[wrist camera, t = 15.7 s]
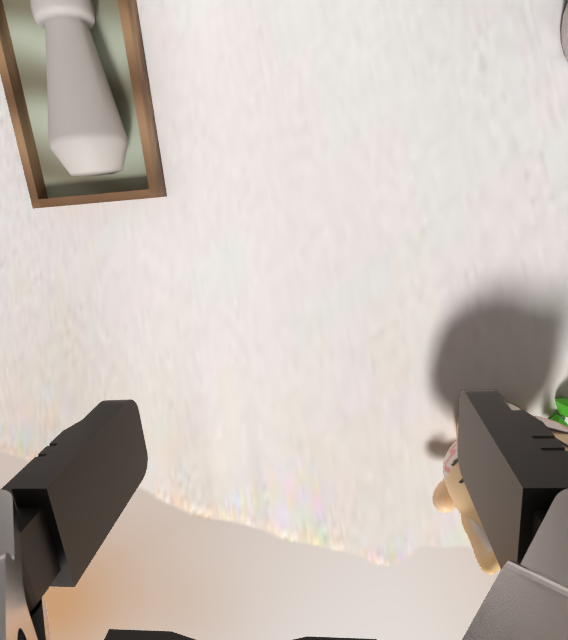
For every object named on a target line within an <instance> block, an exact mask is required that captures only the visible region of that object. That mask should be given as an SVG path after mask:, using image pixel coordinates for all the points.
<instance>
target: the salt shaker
mask: <svg viewBox="0 0 568 640" xmlns="http://www.w3.org/2000/svg"><path fill="white" fill-rule="evenodd" d="M30 6H31V11H32V14H33V18H34V19H35V21H36V23H37V24H38V25H39V26H40V27H41V28H44V29H45V41H46V67H47V93H48V143H49V145H50V148H51V150H52V151H53V153H54V154H55V155H56V157H57V158H58V159H59V160H60V162H61V163H62V164H63V166H64V167H65V168H66V169H67V171H68V172H69V174H70V175H71V176H99V175H107V174H114V173H117V172H119V171H122V170H123V168H124V162H125V157H126V152H127V146H128V138H127V135H126V132H125V129H124V126H123V123H122V120H121V118H120V115H119V112H118V109H117V106H116V103H115V101H114V98H113V95H112V92H111V89H110V86H109V83H108V81H107V78H106V75H105V72H104V69H103V66H102V63H101V61H100V58H99V55H98V52H97V49H96V46H95V43H94V41H93V38H92V35H91V32H90V29H91V28H93V25H94V23H95V13H94V8H93V5H92V2H91V0H30Z"/></svg>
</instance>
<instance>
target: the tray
mask: <svg viewBox="0 0 568 640" xmlns="http://www.w3.org/2000/svg"><path fill="white" fill-rule="evenodd" d="M91 2H92V5H93V8H94V13H95V23H94V25H93V28H91V29H90V32H91V35H92V38H93V41H94V43H95V46H96V49H97V52H98V55H99V58H100V61H101V63H102V66H103V69H104V72H105V75H106V78H107V81H108V83H109V86H110V89H111V92H112V95H113V98H114V101H115V103H116V106H117V109H118V112H119V115H120V118H121V120H122V123H123V126H124V129H125V132H126V135H127V138H128V146H127V152H126V157H125V162H124V168H123V170H122V171H119V172H117V173H114V174H107V175H99V176H71V175H70V174H69V172H68V171H67V169H66V168H65V167H64V166H63V164H62V163H61V162H60V160H59V159H58V158H57V157H56V155H55V154H54V153H53V151H52V150H51V148H50V145H49V143H48V93H47V67H46V41H45V29H44V28H41V27H40V26H39V25H38V24H37V23H36V21H35V19H34V18H33V14H32V11H31V6H30V0H0V74H1V78H2V83H3V87H4V91H5V95H6V99H7V103H8V107H9V112H10V116H11V120H12V124H13V128H14V132H15V136H16V140H17V145H18V149H19V153H20V157H21V161H22V165H23V169H24V174H25V178H26V182H27V186H28V190H29V194H30V198H31V202H32V207H33V208H43V207H54V206H65V205H77V204H88V203H99V202H110V201H121V200H133V199H144V198H155V197H164V196H167V195H166V188H165V182H164V175H163V169H162V163H161V156H160V150H159V143H158V137H157V131H156V124H155V118H154V112H153V105H152V99H151V92H150V86H149V80H148V73H147V67H146V60H145V54H144V48H143V41H142V35H141V28H140V22H139V16H138V9H137V3H136V0H91Z"/></svg>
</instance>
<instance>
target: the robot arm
mask: <svg viewBox="0 0 568 640" xmlns="http://www.w3.org/2000/svg"><path fill="white" fill-rule="evenodd" d="M561 36H562V46H563V50H564V54H565V57H566V59H567V61H568V2H567V5H566V8H565V11H564V14H563V20H562V27H561ZM457 452H458V463H459V468H460V473H461V476H462V478H463V481H464V483H465V486H466V488H467V490H468V493H469V495H470V497H471V500H472V502H473V504H474V507H475V509H476V511H477V514H478V516H479V519H480V521H481V523H482V526H483V528H484V530H485V533H486V535H487V537H488V540H489V542H490V545H491V547H492V549H493V552H494V554H495V556H496V559H497V561H498V563H499V566H500V568H501V571H500V573H499V575H498V576H497V578H496V580H495V582H494V584H493V585H492V587H491V589H490V591H489V592H488V594H487V596H486V598H485V600H484V601H483V603H482V605H481V607H480V609H479V610H478V612H477V614H476V616H475V618H474V619H473V621H472V623H471V625H470V627H469V629H468V630H467V632H466V634H465V635H464V637H463V639H462V640H568V451H565V447H564V446H563V445H562V444H561V442H560V441H559V440H558V439H555V435H554V434H553V433H552V432H551V431H550V430H549V428H548V427H547V426H546V425H545V424H544V422H543V421H541V420H539V419H537V418H536V417H534V416H532V415H531V414H529V413H527V412H525V411H524V410H511V408H510V407H509V406H508V404H507V403H506V402H505V400H504V399H503V398H502V397H501V395H500V394H499V393H498V391H497V390H462V391H461V392H460V396H459V412H458V446H457ZM147 461H148V457H147V449H146V445H145V440H144V435H143V430H142V425H141V420H140V415H139V410H138V406H137V404H136V403H135V401H133V400H105V401H102V402H100V403H99V404H98V405H97V406H96V407H95V408H94V409H93V410H92V411H91V412H90V413H89V414H88V415H87V416H86V417H85V418H84V419H83V420H81V421H80V422H78V423H76V424H74V425H73V426H71V427H69V428H67V429H66V430H64V431H63V432H61V433H60V434H59V435H58V436H57V437H56V438H55V439H54V440H53V441H52V442H51V443H50V446H47V447H45V448H44V449H43V450H42V451H41V452H40V453H39V454H38V457H35V458H34V459H33V460H32V461H31V462H29V463H28V464H27V465H26V466H25V467H24V468H23V469H22V470H21V471H20V472H19V473H18V474H17V475H16V476H15V477H14V478H13V479H11V480H10V481H9V482H8V483H7V484H6V485H5V486H4V487H3V488H2V489H0V640H50V632H49V624H48V615H47V607H46V603H45V600H44V597H43V595H44V594H45V592H46V591H47V589H48V588H49V586H59V587H75V585H76V584H77V582H78V581H79V579H80V578H81V576H82V574H83V573H84V571H85V570H86V568H87V567H88V565H89V563H90V562H91V560H92V559H93V557H94V555H95V554H96V552H97V551H98V549H99V548H100V546H101V544H102V543H103V541H104V540H105V538H106V536H107V535H108V533H109V532H110V530H111V529H112V527H113V525H114V523H115V522H116V521H117V519H118V518H119V516H120V514H121V513H122V511H123V509H124V508H125V507H126V505H127V503H128V502H129V500H130V498H131V497H132V495H133V494H134V492H135V491H136V489H137V488H138V486H139V484H140V483H141V481H142V480H143V478H144V476H145V473H146V469H147ZM104 640H195V639H192V638H189V637H186V636H183V635H180V634H177V633H174V632H169V631H166V632H165V631H141V630H115V629H109V631H108V633H107V635H106V637H105V639H104ZM294 640H376V639H356V638H329V637H303V638H299V639H294Z"/></svg>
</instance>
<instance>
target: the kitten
mask: <svg viewBox="0 0 568 640" xmlns="http://www.w3.org/2000/svg"><path fill="white" fill-rule="evenodd" d="M555 401H556V405H557V409H558V413H559V414H561V415H563V416H566V417H568V400H567V399H566V398H557V399H555ZM505 402H506V401H505ZM506 403H507V402H506ZM507 404H508V406H509V407H510V408H511V410H521V409H519V408H518V407H516V406H515V405H512V404H509V403H507ZM534 417H536V418H537V419H539V420H541V421H543V422H544V424H545V425H546V426H547V427H548V428H549V430H550V431H551V432H552V433H553V434H554V435H555V439H558V440H559V441H560V442H561V444H562V445H563V446H564V447H565V451H568V424H567V423H566V422H565V421H564V420H563V419H562V418H561V417H560V416H559V415H558V414H556V413H555V415H554V416H553V417H552V418H550V419H547V418H543V417H539V416H534ZM456 434H457V440H456V441H455V442H454V443H453V444H452V446H451V447H450V448H449V450H448V452H447V454H446V456H445V459H444V463H443V475H444V479H443V480H442V481H441V482H440V483H439V484H438V486H437V487H436V489H435V490H434V493H433V504H434V506H435V507H436V509H437V510H439V511H440V512H443V513H449V512H451V511H452V510H453V509H454V508H455V506H456V508H457V510H458V511H459V513H460V514H461V520H462V524H463V527H464V529H465V531H466V533H467V535H468V537H469V540H470V542H471V545H472V547H473V550H474V553H475V556H476V559H477V561H478V563H479V565H480V567H481V568H482V570H483V571H484V572H485V573H487V574H491V575H492V574H495V573H496V572H497V571H498V570H499V569H501V568H500V566H499V563H498V561H497V559H496V556H495V554H494V552H493V549H492V547H491V545H490V542H489V540H488V537H487V535H486V533H485V530H484V528H483V526H482V523H481V521H480V519H479V516H478V514H477V511H476V509H475V507H474V504H473V502H472V500H471V497H470V495H469V493H468V490H467V488H466V486H465V483H464V481H463V478H462V476H461V473H460V468H459V463H458V452H457V446H458V423H457V427H456Z"/></svg>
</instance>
